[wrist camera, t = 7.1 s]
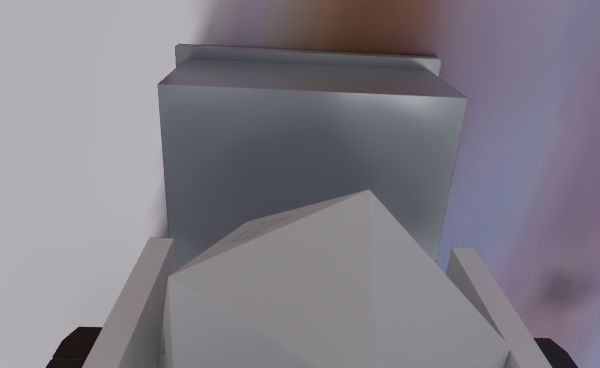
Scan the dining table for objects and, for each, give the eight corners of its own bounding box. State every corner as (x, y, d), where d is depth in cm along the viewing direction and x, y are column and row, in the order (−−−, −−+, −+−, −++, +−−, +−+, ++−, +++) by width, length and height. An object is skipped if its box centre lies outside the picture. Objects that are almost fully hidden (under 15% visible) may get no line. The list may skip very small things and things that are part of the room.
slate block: (190, 263, 27) (165, 339, 21) (179, 44, 22) (141, 69, 16) (401, 269, 27) (429, 345, 22) (436, 56, 22) (484, 84, 17)
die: (329, 89, 14) (12, 292, 8) (605, 266, 12) (487, 772, 5) (270, 248, 20) (60, 443, 13) (449, 389, 17) (300, 706, 11)
